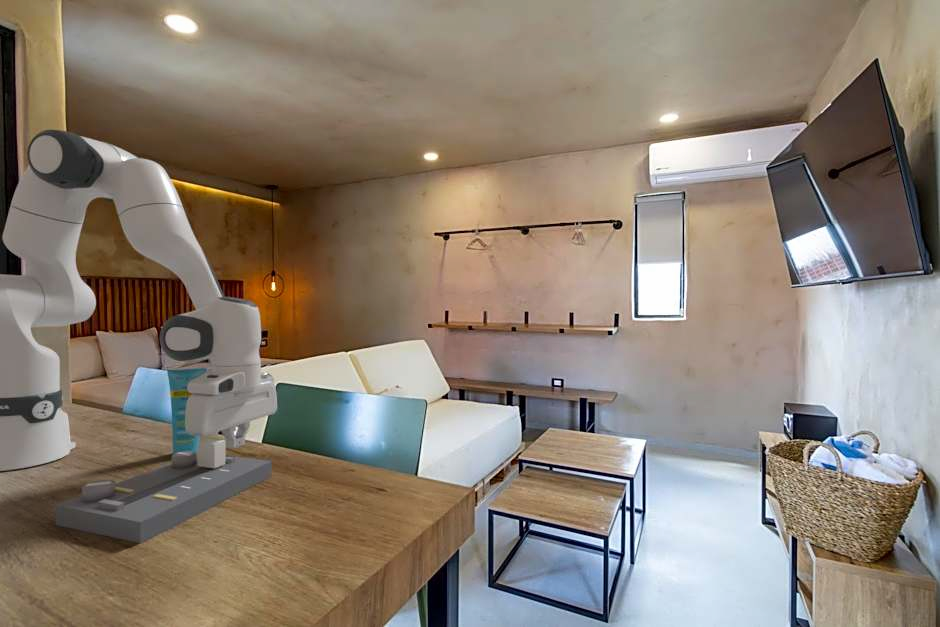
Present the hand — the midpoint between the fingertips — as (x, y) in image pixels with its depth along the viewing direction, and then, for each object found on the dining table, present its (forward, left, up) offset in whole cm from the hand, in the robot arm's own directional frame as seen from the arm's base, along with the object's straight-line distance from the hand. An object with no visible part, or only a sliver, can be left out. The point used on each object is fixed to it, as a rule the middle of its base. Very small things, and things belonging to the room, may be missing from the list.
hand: (235, 446), depth 89 cm
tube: (-18, +5, -5) cm, 20 cm away
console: (0, -13, -5) cm, 14 cm away
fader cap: (0, -6, -2) cm, 6 cm away
